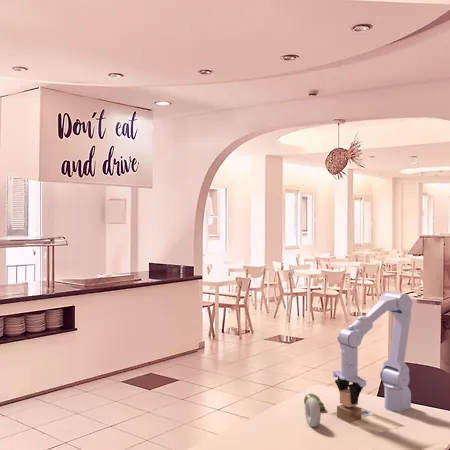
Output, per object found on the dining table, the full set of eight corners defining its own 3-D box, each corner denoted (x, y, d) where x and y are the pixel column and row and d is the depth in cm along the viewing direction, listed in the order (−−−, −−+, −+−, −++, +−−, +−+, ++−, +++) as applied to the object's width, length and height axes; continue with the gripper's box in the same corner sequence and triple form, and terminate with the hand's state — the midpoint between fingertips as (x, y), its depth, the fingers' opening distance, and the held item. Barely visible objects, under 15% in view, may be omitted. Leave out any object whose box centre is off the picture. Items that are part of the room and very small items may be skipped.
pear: (314, 390, 214) (329, 402, 205) (312, 403, 215) (327, 415, 206) (301, 392, 212) (316, 404, 203) (300, 405, 212) (315, 418, 203)
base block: (349, 414, 202) (349, 403, 202) (361, 419, 196) (361, 407, 196) (336, 417, 199) (336, 405, 198) (348, 422, 193) (348, 411, 193)
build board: (358, 408, 209) (358, 406, 209) (404, 427, 191) (404, 425, 191) (328, 416, 202) (328, 413, 202) (373, 436, 183) (373, 433, 183)
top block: (349, 401, 200) (349, 388, 200) (358, 404, 197) (358, 392, 197) (339, 403, 198) (339, 390, 198) (348, 407, 194) (348, 394, 194)
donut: (322, 432, 187) (322, 402, 187) (312, 432, 186) (312, 403, 186) (313, 421, 197) (313, 393, 197) (303, 421, 196) (303, 393, 196)
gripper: (326, 360, 201) (326, 397, 202) (355, 369, 189) (355, 409, 189) (341, 357, 205) (341, 394, 205) (370, 367, 193) (370, 406, 193)
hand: (349, 401), depth 197 cm, fingers closed on top block, 4 cm apart
